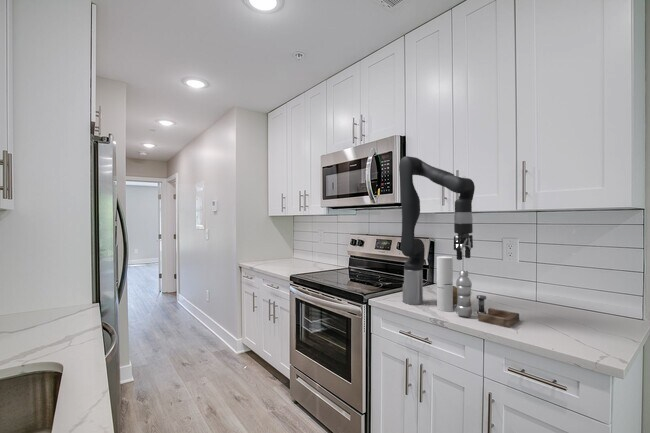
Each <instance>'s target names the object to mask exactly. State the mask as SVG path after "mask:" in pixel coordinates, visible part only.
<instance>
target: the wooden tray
mask: <svg viewBox="0 0 650 433" xmlns="http://www.w3.org/2000/svg"><path fill="white" fill-rule="evenodd" d="M519 321H520V313H519V312H515V311H514V312H513V311H508V310H502V309H498V308H492V307H489V308H487V313H486V314H483V313H479V314H477V322H482V323H486V324H490V325H494V326H495V325H496V326H498V327H499V326H500V327H504V328H508V329H509V328H511V327H513V326H514V325H515V324H517V323H518V322H519Z"/></svg>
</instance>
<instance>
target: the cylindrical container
mask: <svg viewBox="0 0 650 433" xmlns="http://www.w3.org/2000/svg"><path fill="white" fill-rule="evenodd" d="M453 265H454V262H453V257H452V256H445V255H444V256H443V255H442V256H436V310H437V311H440V312H453V311H454V306H453V286H454V282H453V279H454V278H453V270H454V269H453V267H454V266H453Z"/></svg>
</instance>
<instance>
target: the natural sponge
mask: <svg viewBox="0 0 650 433" xmlns="http://www.w3.org/2000/svg"><path fill="white" fill-rule="evenodd" d="M457 300H458V294H457V286H455V285H453V307H454V306H457Z"/></svg>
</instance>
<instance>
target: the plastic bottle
mask: <svg viewBox="0 0 650 433" xmlns="http://www.w3.org/2000/svg"><path fill="white" fill-rule="evenodd" d="M458 275H459V277H458V278H457V279H456V282H455V284H456V286H455V287H456V288H457V294H458V300H457V304H456V308H455V309H456V310H455V311H456V313H457V315H458V316H460V317H464V318H465V317H466V318H468V317H471V316H472V314H473V308H472V301H471V298H472V297H471V295H472V294H471V293H472V280H471V279H470V278H469V271H468V270H459V274H458Z"/></svg>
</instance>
